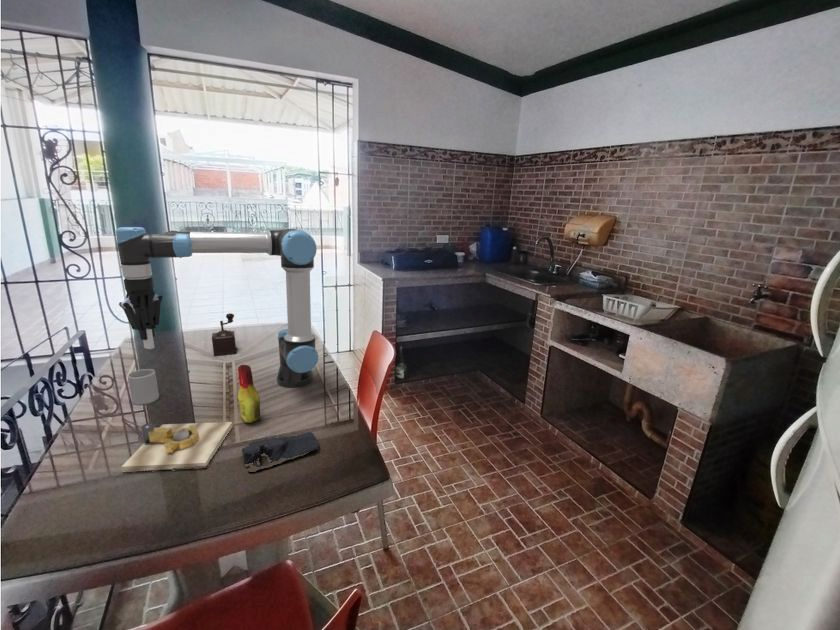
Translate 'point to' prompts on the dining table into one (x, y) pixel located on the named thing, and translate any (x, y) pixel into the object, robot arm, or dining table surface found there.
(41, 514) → the dining table surface
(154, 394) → the mug
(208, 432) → the post board
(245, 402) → the bottle
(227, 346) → the coffee grinder
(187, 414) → the dining table surface
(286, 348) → the robot arm
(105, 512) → the dining table surface
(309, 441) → the dark slate chunk
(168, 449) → the collar
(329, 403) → the dining table surface
